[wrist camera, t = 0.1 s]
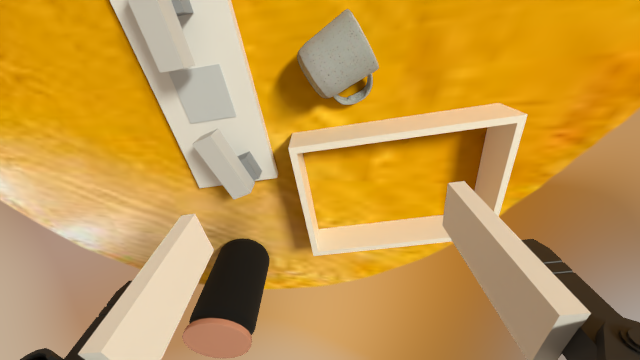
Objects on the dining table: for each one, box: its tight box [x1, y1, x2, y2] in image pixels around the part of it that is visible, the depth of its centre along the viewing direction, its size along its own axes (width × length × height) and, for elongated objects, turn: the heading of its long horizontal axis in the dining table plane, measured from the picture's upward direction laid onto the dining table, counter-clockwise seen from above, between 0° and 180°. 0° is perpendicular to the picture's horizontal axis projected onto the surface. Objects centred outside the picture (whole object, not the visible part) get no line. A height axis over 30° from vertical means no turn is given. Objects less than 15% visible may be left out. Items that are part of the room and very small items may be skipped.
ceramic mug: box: [297, 9, 379, 105], centre depth 32 cm, size 11×8×8 cm
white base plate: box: [110, 0, 278, 199], centre depth 34 cm, size 30×14×7 cm, turn 9°
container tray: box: [288, 103, 528, 256], centre depth 42 cm, size 22×32×6 cm
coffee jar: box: [182, 239, 269, 358], centre depth 47 cm, size 11×11×18 cm
